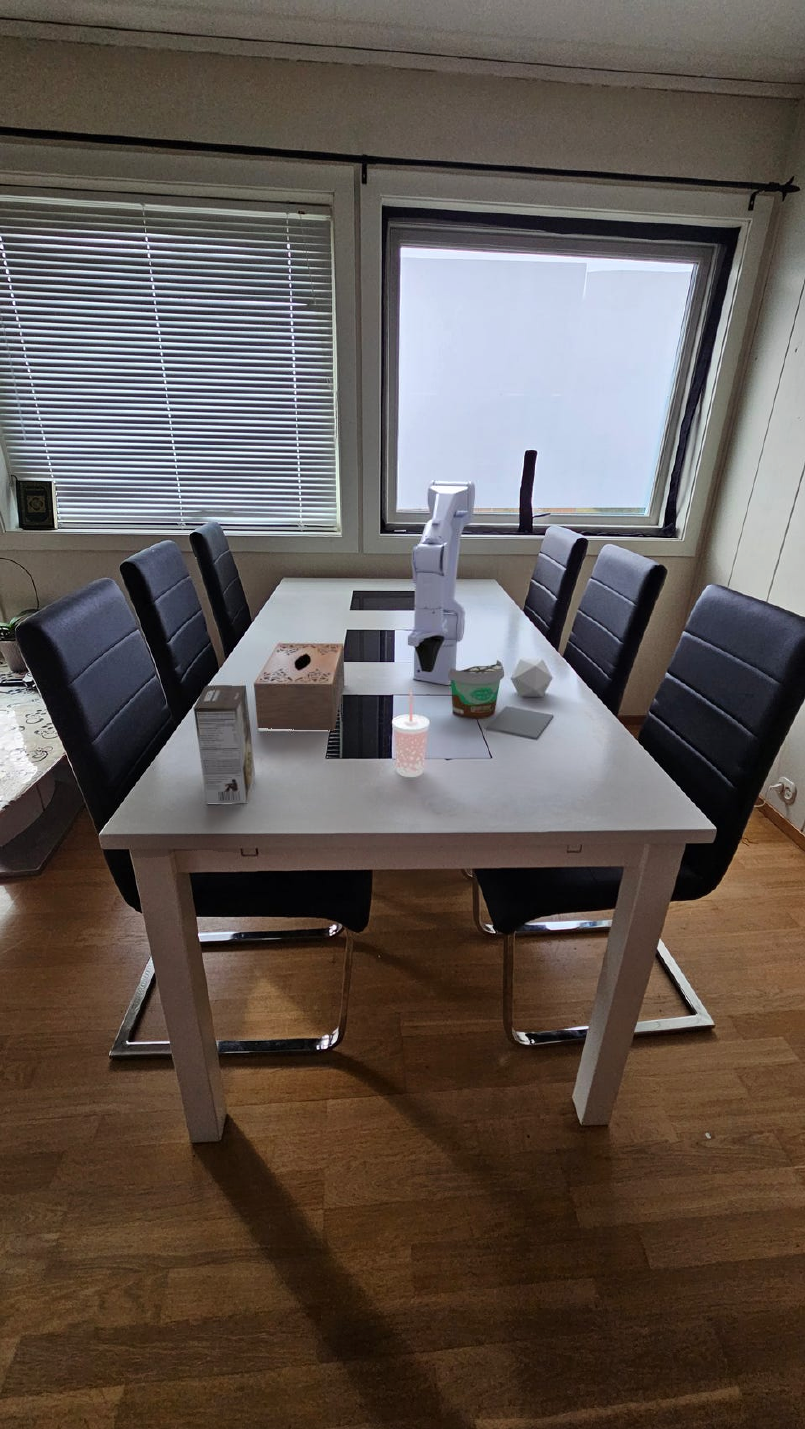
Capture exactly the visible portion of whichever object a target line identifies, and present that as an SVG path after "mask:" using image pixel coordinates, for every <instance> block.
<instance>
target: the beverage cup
mask: <svg viewBox="0 0 805 1429" xmlns="http://www.w3.org/2000/svg"><path fill="white" fill-rule="evenodd" d="M413 698H414V692H409V714H400V715H397V716H396V717H394V718H393V719H392V720H391V725H392V726H391V727H392V729H393V736H394V738H393V739H394V753H395V756H394V757H395V767H396V769H395V770H396V773H397V774H399V775H400V776H403V777H405V778H416V777H419V776H421V775H423V773H424V771H425V769H424V768H425V759H426V758H425V757H426V749H427V748H426V747H427V738H428V730H429V728H430V720H429V719H428V718H427V717H426V716H423V715H420V714H413V702H414V701H413Z"/></svg>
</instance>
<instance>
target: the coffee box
mask: <svg viewBox="0 0 805 1429" xmlns="http://www.w3.org/2000/svg"><path fill="white" fill-rule="evenodd" d="M247 693H248V692H247V685H245V684H244V685H231V684H219V685H218V684H215V685H214V684H213V685H205V686H204V688H203V689H202V691H201V694H200V695H199V697H198V700H197V701H196V703H195V705H194V706H193V713H194V720H195V727H196V728H195V729H196V735H197V736H196V737H197V742H198V743H197V744H198V750H199V757H200V764H201V772H202V773H201V774H202V780H203V788H204V793H205V801H206V804H207V803H246V804H248V803H249V800H248V799H250V796H251V792H252V788H251V787H253V785H252V784H254V781H255V776H256V771H255V769H256V768H255V761H254V760H255V759H254V752H253V751H254V750H253V742H252V733H251V721H250V712H249V705H248V704H249V701H248V694H247ZM253 780H254V781H253ZM249 795H250V796H249ZM247 802H248V803H247Z"/></svg>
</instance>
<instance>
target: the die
mask: <svg viewBox="0 0 805 1429" xmlns="http://www.w3.org/2000/svg"><path fill="white" fill-rule="evenodd" d="M553 679H554V678H553V676H552V674H551V671H550V670H549V668H548V666H547V664H546V662H545V660H544V659H541V658H540V659H539V658H538V659H534V658H533V659H531V658H529V659H526V658H525V659H523V658H522V659H519V660H518V662H517V664H516V666H515V669H513V672H512V674H511V676H510V680H511V682H512V685H513V687H514V689H515V691H516V693H517V694H518V696H519V698H526V697H527V698H542V697H544V695H545V694H546V691H547V689H548V688H549V686H550V684H551V682H552V681H553Z"/></svg>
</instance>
